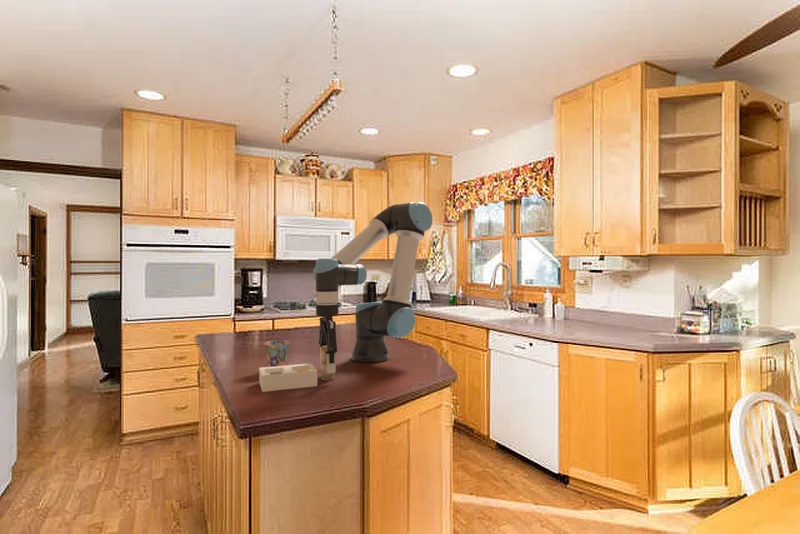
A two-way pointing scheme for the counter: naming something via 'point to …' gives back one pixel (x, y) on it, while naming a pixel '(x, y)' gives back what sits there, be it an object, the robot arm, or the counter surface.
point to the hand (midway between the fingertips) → (327, 369)
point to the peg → (325, 365)
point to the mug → (276, 353)
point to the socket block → (287, 377)
